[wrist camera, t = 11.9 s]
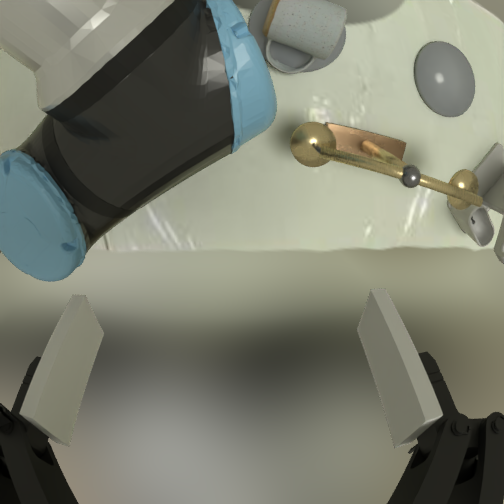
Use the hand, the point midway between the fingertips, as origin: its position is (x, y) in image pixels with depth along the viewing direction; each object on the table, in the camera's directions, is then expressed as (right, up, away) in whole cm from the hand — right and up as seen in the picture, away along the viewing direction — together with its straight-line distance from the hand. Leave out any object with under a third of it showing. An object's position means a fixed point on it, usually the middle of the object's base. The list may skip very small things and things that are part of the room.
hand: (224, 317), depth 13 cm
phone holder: (+43, +15, +27) cm, 53 cm away
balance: (+17, +18, +24) cm, 34 cm away
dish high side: (+30, +28, +17) cm, 44 cm away
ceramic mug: (+7, +29, +15) cm, 33 cm away
